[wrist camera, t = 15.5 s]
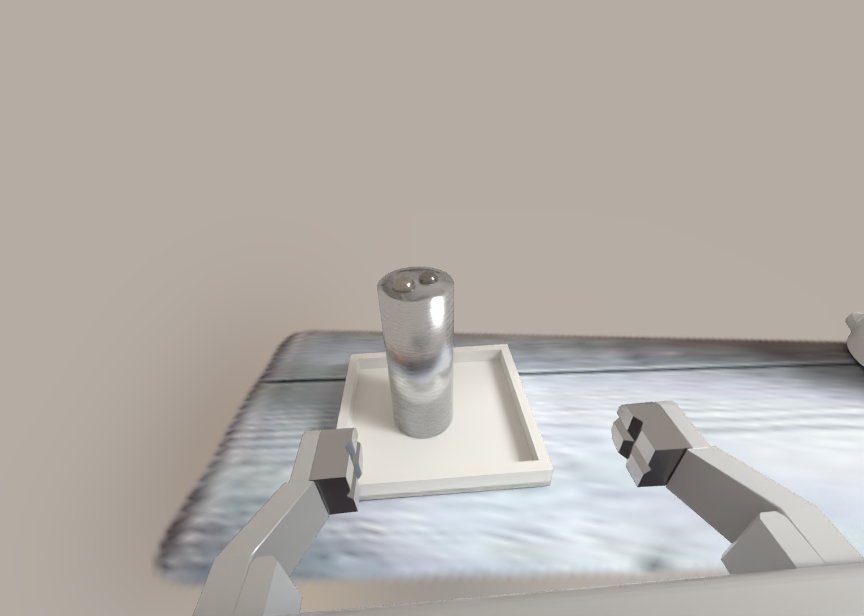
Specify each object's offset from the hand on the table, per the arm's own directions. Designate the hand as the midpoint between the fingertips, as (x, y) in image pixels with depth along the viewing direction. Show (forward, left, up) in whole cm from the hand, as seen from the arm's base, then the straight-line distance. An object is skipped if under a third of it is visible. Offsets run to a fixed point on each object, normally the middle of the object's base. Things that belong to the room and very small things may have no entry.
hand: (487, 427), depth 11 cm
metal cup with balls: (+2, -14, -16) cm, 21 cm away
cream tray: (+1, -14, -16) cm, 22 cm away
